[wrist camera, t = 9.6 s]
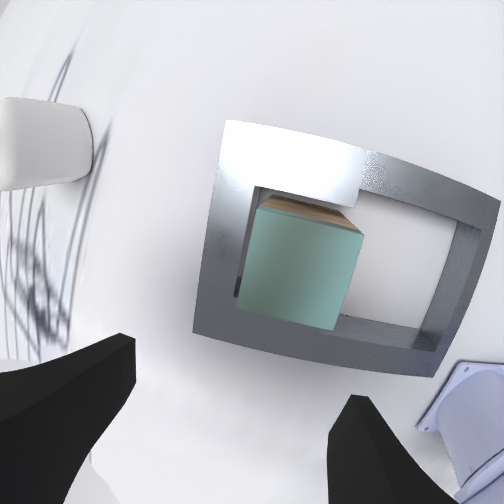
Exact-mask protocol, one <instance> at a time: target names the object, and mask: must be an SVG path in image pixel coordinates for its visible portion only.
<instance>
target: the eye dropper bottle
mask: <svg viewBox="0 0 504 504" xmlns="http://www.w3.org/2000/svg"><path fill="white" fill-rule="evenodd" d="M92 152H93V149H92V136H91V131H90V127H89V124H88V121H87V119H86V117H85V115H84V113H83V112H82V110H81V109H80V108H78V107H76V106H71V105H65V104H60V103H54V102H48V101H41V100H34V99H27V98H16V97H8V98H5V99H3V100H1V101H0V191H11V190H18V189H25V188H31V187H37V186H44V185H51V184H58V183H66V182H73V181H75V180H78V179H80V178H82V177H84V176H85V175H87V174H88V173H89V172H90V169H91V165H92Z"/></svg>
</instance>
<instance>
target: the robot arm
mask: <svg viewBox="0 0 504 504" xmlns="http://www.w3.org/2000/svg"><path fill="white" fill-rule="evenodd" d="M135 384H136V354H135V338H132V337H130V336H127V335H124V334H122V333H118V334H116V335H113V336H111V337H108V338H106V339H104V340H101V341H99V342H97V343H94V344H92V345H90V346H87V347H85V348H83V349H80V350H78V351H75V352H73V353H71V354H68V355H65V356H62V357H60V358H57V359H54V360H51V361H48V362H45V363H42V364H39V365H36V366H32V367H28V368H24V369H19V370H15V371H9V372H2V373H0V504H63V503H64V500H65V498H66V496H67V493H68V491H69V489H70V487H71V485H72V483H73V481H74V479H75V477H76V475H77V473H78V471H79V469H80V467H81V465H82V464H83V462H84V460H85V458H86V456H87V455H88V453H89V452H90V450H91V449H92V447H93V446H94V444H95V443H96V442H97V440H98V439H99V438H100V436H101V435H102V434H103V432H104V431H105V430H106V428H107V427H108V426H109V424H110V423H111V422H112V420H113V419H114V418H115V416H116V415H117V414H118V412H119V411H120V410H121V408H122V407H123V405H124V404H125V402H126V400H127V399H128V397H129V395H130V393H131V391H132V389H133V387H134V386H135ZM417 431H418V432H439V431H440V434H441V436H442V439H443V441H444V444H445V446H446V449H447V452H448V454H449V457H450V460H451V463H452V465H453V468H454V471H455V474H456V477H457V480H458V483H459V486H460V490H459V491H458V492H457V493H455V494H454V498H455V500H454V499H453V498H452V497H450V496H449V495H448V494H447V493H445V492H444V491H443V490H442V489H441V488H440V487H439V486H438V485H437V484H436V483H435V482H434V481H433V480H432V479H431V478H430V477H429V476H428V475H427V474H426V473H425V472H424V471H423V470H422V469H421V468H420V467H419V465H418V464H417V463H416V462H415V461H414V459H413V458H412V457H411V456H410V455H409V453H408V452H407V451H406V449H405V448H404V447H403V445H402V444H401V443H400V441H399V440H398V439H397V437H396V436H395V435H394V433H393V432H392V430H391V429H390V427H389V426H388V425H387V423H386V422H385V420H384V419H383V417H382V416H381V414H380V413H379V411H378V410H377V408H376V407H375V406H374V404H373V403H372V401H371V400H370V399H369V397H367V396H359V395H352V394H351V396H350V398H349V399H348V401H347V403H346V405H345V406H344V408H343V410H342V412H341V413H340V415H339V417H338V418H337V420H336V422H335V423H334V425H333V427H332V428H331V430H330V431H329V435H328V447H327V476H328V499H329V504H504V365H500V364H484V363H471V362H461V363H459V364H458V365H457V367H456V368H455V370H454V372H453V374H452V375H451V377H450V379H449V380H448V382H447V384H446V385H445V387H444V388H443V390H442V392H441V393H440V395H439V396H438V398H437V399H436V401H435V402H434V404H433V405H432V407H431V408H430V410H429V411H428V413H427V414H426V415H425V417H424V418H423V420H422V421H421V422H420V424H419V425H418V426H417Z"/></svg>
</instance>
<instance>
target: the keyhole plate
mask: <svg viewBox="0 0 504 504" xmlns="http://www.w3.org/2000/svg"><path fill="white" fill-rule="evenodd" d="M261 187H266V188H270V189H275V190H280V191H284V192H289V193H293V194H298V195H302V196H306V197H310V198H315V199H319V200H323V201H327V202H331V203H335V204H339V205H343V206H347V207H351V208H354V209H355V205H356V201H357V196H358V192H359V189H362V190H365V191H369V192H373V193H376V194H379V195H383V196H386V197H390V198H393V199H396V200H399V201H403V202H406V203H409V204H412V205H415V206H418V207H421V208H424V209H427V210H430V211H433V212H436V213H439V214H442V215H445V216H447V217H450V218H453V219H456V220H458V224H457V227H456V231H455V235H454V238H453V242H452V245H451V248H450V251H449V255H448V258H447V261H446V264H445V267H444V270H443V273H442V276H441V278H440V281H439V284H438V287H437V289H436V292H435V295H434V297H433V300H432V302H431V305H430V307H429V310H428V312H427V314H426V317H425V319H424V321H423V324H422V326H421V328H420V329H415V328H409V327H404V326H398V325H393V324H387V323H382V322H377V321H371V320H366V319H361V318H356V317H351V316H346V315H341V314H339V315H338V318H337V321H336V324H335V326H334V329H333V331H332V330H327V329H322V328H318V327H313V326H309V325H304V324H300V323H295V322H291V321H287V320H282V319H278V318H274V317H270V316H266V315H262V314H258V313H254V312H250V311H246V310H242V309H238V308H236V305H237V300H238V295H239V291H240V286H241V281H242V276H243V271H244V267H245V262H246V257H247V252H248V248H249V243H250V238H251V233H252V229H253V224H254V219H255V214H256V209H257V204H258V199H259V194H260V189H261ZM500 203H501V201H499V200H497V199H495V198H493V197H491V196H489V195H487V194H485V193H483V192H481V191H478V190H476V189H474V188H472V187H469V186H467V185H465V184H463V183H460V182H458V181H455V180H453V179H451V178H448V177H446V176H443V175H441V174H438V173H435V172H433V171H430V170H428V169H425V168H422V167H419V166H417V165H414V164H411V163H408V162H405V161H402V160H399V159H396V158H393V157H390V156H387V155H384V154H381V153H378V152H374V151H371V150H368V149H364V148H361V147H357V146H354V145H350V144H346V143H342V142H339V141H335V140H331V139H327V138H323V137H318V136H314V135H310V134H305V133H301V132H296V131H291V130H286V129H281V128H276V127H271V126H265V125H260V124H254V123H247V122H241V121H234V120H226V125H225V130H224V135H223V140H222V145H221V150H220V155H219V160H218V166H217V171H216V177H215V182H214V188H213V194H212V199H211V205H210V211H209V217H208V223H207V230H206V236H205V243H204V249H203V256H202V263H201V270H200V277H199V284H198V292H197V299H196V307H195V315H194V324H193V332H192V333H196V334H199V335H203V336H206V337H210V338H213V339H217V340H221V341H225V342H228V343H232V344H236V345H240V346H244V347H248V348H252V349H257V350H261V351H265V352H270V353H274V354H279V355H283V356H288V357H293V358H298V359H303V360H308V361H313V362H318V363H324V364H330V365H335V366H341V367H348V368H354V369H361V370H368V371H375V372H383V373H391V374H399V375H409V376H419V377H431V378H433V376H434V375H435V373H436V371H437V369H438V368H439V366H440V364H441V362H442V360H443V358H444V357H445V355H446V353H447V351H448V349H449V347H450V345H451V343H452V341H453V339H454V337H455V335H456V333H457V331H458V329H459V326H460V324H461V322H462V320H463V318H464V315H465V313H466V311H467V308H468V306H469V303H470V301H471V299H472V296H473V293H474V291H475V288H476V286H477V283H478V280H479V277H480V275H481V272H482V269H483V266H484V263H485V260H486V257H487V253H488V250H489V247H490V243H491V240H492V236H493V232H494V229H495V225H496V221H497V217H498V212H499V208H500Z"/></svg>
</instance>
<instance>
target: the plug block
mask: <svg viewBox="0 0 504 504" xmlns="http://www.w3.org/2000/svg"><path fill="white" fill-rule="evenodd" d="M363 238H364V235H363V234H362V233H361V232H360V231H359V230H358V229H357V228H356V227H355V226H354V225H353V224H352V223H351V222H350V221H349V220H348V219H347V218H346V217H345V216H344V215H343V214H341V213H340V212H339V211H338V210H334V209H330V208H326V207H322V206H319V205H315V204H311V203H307V202H302V201H298V200H294V199H290V198H286V197H281V196H277V195H273V194H272V195H271V196H270V197H269V198H268V199H267V200H266V201H265V202H264V203H262V204H261V205H260V206H259V207H258V208H257V210H256V214H255V219H254V224H253V229H252V233H251V238H250V243H249V248H248V252H247V257H246V262H245V267H244V271H243V276H242V281H241V286H240V291H239V295H238V300H237V305H236V308H238V309H242V310H246V311H250V312H254V313H258V314H262V315H266V316H270V317H274V318H278V319H282V320H287V321H291V322H295V323H300V324H304V325H309V326H313V327H318V328H322V329H327V330H332V331H333V329H334V326H335V324H336V321H337V318H338V315H339V313H340V310H341V307H342V304H343V301H344V298H345V295H346V293H347V290H348V287H349V284H350V281H351V277H352V274H353V271H354V268H355V265H356V262H357V258H358V255H359V252H360V249H361V245H362V242H363Z"/></svg>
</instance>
